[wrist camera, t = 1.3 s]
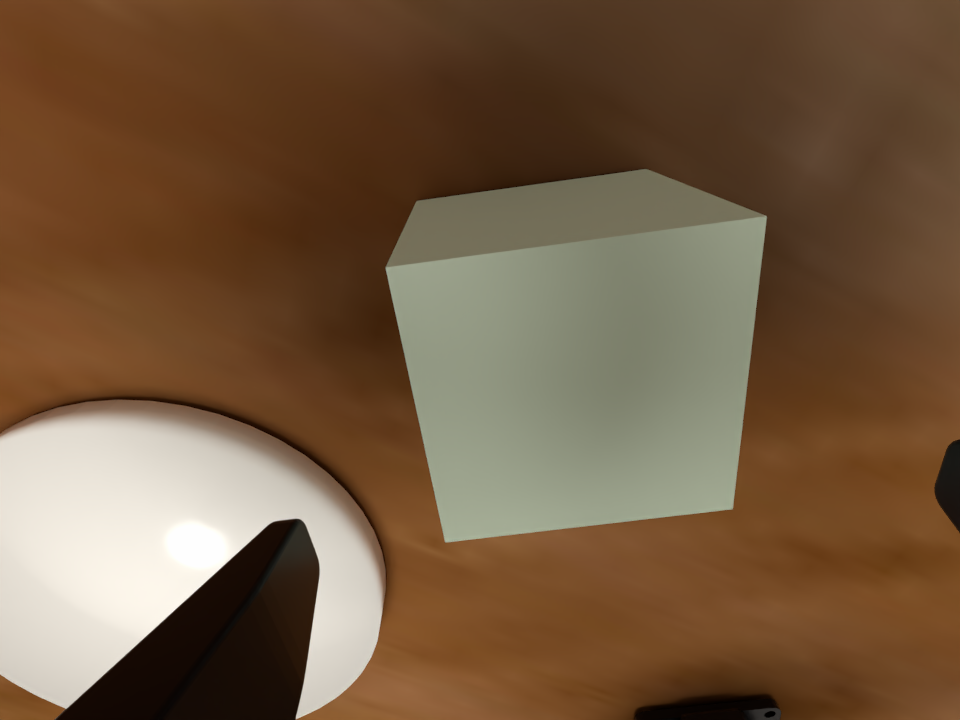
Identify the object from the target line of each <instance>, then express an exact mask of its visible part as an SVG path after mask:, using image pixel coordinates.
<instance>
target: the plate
mask: <svg viewBox="0 0 960 720" xmlns="http://www.w3.org/2000/svg"><path fill="white" fill-rule="evenodd" d="M288 519H301V520H302V521H303V522H304V523H305V525H306V527H307V530H308V532H309V535H310V538H311V540H312V543H313V546H314V548H315V551H316V554H317V556H318V560H319V566H320V576H319V583H318V590H317V597H316V604H315V611H314V618H313V625H312V632H311V639H310V646H309V653H308V660H307V667H306V673H305V679H304V685H303V689H302V694H301V698H300V703H299V707H298V711H297V715H296V719H297V718H300V717H302V716H304V715H306V714H308V713H311V712H313V711H315V710H317V709H319V708H321V707H322V706H324V705H325V704H327V703H329V702H330V701H332V700H334V699H335V698H336V697H338V696H339V695H340V694H341V693H342V692H344V691H345V690H346V689H347V688H348V687H350V685H351V684H352V683H353V682H354V681H355V680H356V679H357V678H358V677H359V675H360V674H361V673H362V672H363V670H364V668H365V667H366V665H367V664H368V662H369V660H370V659H371V657H372V654H373V651H374V649H375V646H376V644H377V640H378V634H379V629H380V623H381V617H382V610H383V604H384V598H385V592H386V569H385V564H384V559H383V554H382V550H381V548H380V545H379V542H378V540H377V537H376V535H375V532H374V530H373V528H372V527H371V525H370V523H369V522H368V520H367V518H366V516H365V515H364V513H363V511H362V510H361V509H360V507H359V506H358V505H357V504H356V502H355V501H354V500H353V499H352V497H351V496H350V495H349V494H348V492H347V491H346V490H345V489H344V488H343V487H342V486H341V485H340V484H339V483H338V482H337V481H336V480H335V479H334V478H333V477H332V476H330V475H329V474H328V473H327V472H326V471H325V470H323V469H322V468H321V467H320V466H318V465H317V464H316V463H314V462H313V461H312V460H310V459H309V458H308V457H307V456H305V455H304V454H302V453H300V452H299V451H297V450H296V449H294V448H292V447H291V446H289V445H287V444H286V443H284V442H282V441H281V440H279V439H277V438H275V437H273V436H271V435H269V434H267V433H265V432H263V431H260V430H258V429H256V428H254V427H252V426H250V425H247V424H244V423H242V422H239V421H236V420H233V419H231V418H228V417H225V416H222V415H220V414H216V413H212V412H208V411H204V410H200V409H196V408H192V407H188V406H183V405H176V404H170V403H163V402H156V401H142V400H105V401H91V402H83V403H78V404H73V405H68V406H63V407H57V408H54V409H52V410H49V411H46V412H43V413H40V414H37V415H34V416H31V417H29V418H27V419H25V420H23V421H21V422H19V423H17V424H15V425H13V426H11V427H9V428H7V429H6V430H5V431H3V432H2V433H0V674H1V675H2V676H4V677H5V678H7V679H8V680H10V681H11V682H13V683H15V684H16V685H18V686H20V687H22V688H24V689H25V690H27V691H29V692H31V693H33V694H34V695H37V696H39V697H41V698H43V699H45V700H48V701H50V702H52V703H54V704H56V705H58V706H61V707H64V708H66V709H67V708H68V707H69V706H70V705H71V704H72V703H73V702H74V701H75V700H77V699H78V698H79V697H80V696H81V695H82V694H83V693H84V692H85V691H86V690H88V689H89V688H90V687H91V686H92V685H93V684H94V683H95V682H96V681H97V680H99V679H100V678H101V677H102V676H103V675H104V674H105V673H106V672H107V671H108V670H109V669H111V668H112V667H113V666H114V665H115V664H116V663H117V662H118V661H119V660H120V659H122V658H123V657H124V656H125V655H126V654H127V653H128V652H129V651H130V650H131V649H133V648H134V647H135V646H136V645H137V644H138V643H139V642H140V641H141V640H142V639H143V638H145V637H146V636H147V635H148V634H149V633H150V632H151V631H152V630H153V629H154V628H156V627H157V626H158V625H159V624H160V623H161V622H162V621H163V620H164V619H165V618H167V617H168V616H169V615H170V614H171V613H172V612H173V611H174V610H175V609H176V608H178V607H179V606H180V605H181V604H182V603H183V602H184V601H185V600H186V599H187V598H188V597H190V596H191V595H192V594H193V593H194V592H195V591H196V590H197V589H198V588H199V587H201V586H202V585H203V584H204V583H205V582H206V581H207V580H208V579H209V578H210V577H212V576H213V575H214V574H215V573H216V572H217V571H218V570H219V569H220V568H221V567H223V566H224V565H225V564H226V563H227V562H228V561H229V560H230V559H231V558H232V557H233V556H235V555H236V554H237V553H238V552H239V551H240V550H241V549H242V548H243V547H244V546H246V545H247V544H248V543H249V542H250V541H251V540H252V539H253V538H254V537H255V536H257V535H258V534H259V533H260V532H261V531H262V530H263V529H264V528H265V527H266V526H268V525H269V524H270V523H272V522H274V521H279V520H288Z"/></svg>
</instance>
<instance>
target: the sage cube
mask: <svg viewBox="0 0 960 720" xmlns="http://www.w3.org/2000/svg"><path fill="white" fill-rule="evenodd" d="M766 219H767V216H765V215H763V214H760V213H758V212H755V211H752V210H750V209H747V208H745V207H742V206H740V205H737V204H735V203H732V202H729V201H727V200H724V199H722V198H719V197H717V196H714V195H712V194H709V193H707V192H704V191H701V190H699V189H696V188H694V187H691V186H689V185H686V184H684V183H681V182H679V181H676V180H673V179H671V178H668V177H666V176H663V175H661V174H658V173H656V172H653V171H650V170H648V169H643V170H635V171H628V172H621V173H614V174H607V175H599V176H592V177H585V178H578V179H571V180H563V181H556V182H549V183H542V184H535V185H527V186H520V187H513V188H506V189H499V190H491V191H484V192H477V193H470V194H463V195H455V196H448V197H441V198H434V199H427V200H419V201H416V203H415V205H414V207H413V210H412V212H411V214H410V216H409V218H408V220H407V222H406V225H405V227H404V229H403V231H402V233H401V235H400V237H399V240H398V242H397V244H396V246H395V248H394V250H393V252H392V255H391V257H390V259H389V261H388V263H387V265H386V267H385V268H386V273H387V277H388V282H389V286H390V291H391V296H392V300H393V305H394V309H395V314H396V318H397V323H398V328H399V332H400V337H401V341H402V346H403V351H404V355H405V360H406V364H407V369H408V374H409V378H410V383H411V387H412V392H413V397H414V401H415V406H416V410H417V415H418V420H419V424H420V429H421V433H422V438H423V443H424V447H425V452H426V456H427V461H428V466H429V470H430V475H431V479H432V484H433V489H434V493H435V498H436V502H437V507H438V512H439V516H440V521H441V525H442V530H443V534H444V539H445V542H453V541H462V540H471V539H479V538H488V537H497V536H505V535H514V534H523V533H531V532H540V531H549V530H557V529H566V528H574V527H583V526H592V525H600V524H609V523H618V522H626V521H635V520H644V519H652V518H661V517H670V516H678V515H687V514H696V513H704V512H713V511H721V510H730V509H733V502H734V494H735V485H736V477H737V468H738V460H739V451H740V442H741V434H742V425H743V417H744V408H745V400H746V391H747V382H748V374H749V365H750V357H751V348H752V340H753V331H754V322H755V314H756V305H757V297H758V288H759V280H760V271H761V262H762V254H763V245H764V237H765V228H766Z"/></svg>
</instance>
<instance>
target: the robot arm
mask: <svg viewBox="0 0 960 720" xmlns="http://www.w3.org/2000/svg"><path fill="white" fill-rule="evenodd" d="M934 488H935V496H936V499H937V501H938V503H939V505H940V507H941V508H942V509H943V511H944V512H945V513H946V515H947V516H948V518H949V519H950V520H951V522H952V523H953V524H954V526H955V527H956V528H957V530H958V531H959V532H960V439H959V440H956V441H953V442H952V443H951V444H950V445H949V446H948V448H947V450H946V453H945V456H944V459H943V462H942V465H941V468H940V471H939V474H938V477H937V480H936V483H935V487H934ZM319 576H320V566H319V560H318V556H317V554H316V551H315V548H314V546H313V543H312V540H311V538H310V535H309V532H308V530H307V527H306V525H305V523H304V522H303V521H302V520H301V519H288V520H279V521H274V522H272V523H270V524H269V525H268V526H266V527H265V528H264V529H263V530H262V531H261V532H260V533H259V534H258V535H257V536H255V537H254V538H253V539H252V540H251V541H250V542H249V543H248V544H247V545H246V546H244V547H243V548H242V549H241V550H240V551H239V552H238V553H237V554H236V555H235V556H233V557H232V558H231V559H230V560H229V561H228V562H227V563H226V564H225V565H224V566H223V567H221V568H220V569H219V570H218V571H217V572H216V573H215V574H214V575H213V576H212V577H210V578H209V579H208V580H207V581H206V582H205V583H204V584H203V585H202V586H201V587H199V588H198V589H197V590H196V591H195V592H194V593H193V594H192V595H191V596H190V597H188V598H187V599H186V600H185V601H184V602H183V603H182V604H181V605H180V606H179V607H178V608H176V609H175V610H174V611H173V612H172V613H171V614H170V615H169V616H168V617H167V618H165V619H164V620H163V621H162V622H161V623H160V624H159V625H158V626H157V627H156V628H154V629H153V630H152V631H151V632H150V633H149V634H148V635H147V636H146V637H145V638H143V639H142V640H141V641H140V642H139V643H138V644H137V645H136V646H135V647H134V648H133V649H131V650H130V651H129V652H128V653H127V654H126V655H125V656H124V657H123V658H122V659H120V660H119V661H118V662H117V663H116V664H115V665H114V666H113V667H112V668H111V669H109V670H108V671H107V672H106V673H105V674H104V675H103V676H102V677H101V678H100V679H99V680H97V681H96V682H95V683H94V684H93V685H92V686H91V687H90V688H89V689H88V690H86V691H85V692H84V693H83V694H82V695H81V696H80V697H79V698H78V699H77V700H75V701H74V702H73V703H72V704H71V705H70V706H69V707H68V708H67V709H66V710H64V711H63V712H62V713H61V714H60V715H59V716H58V717H57V718H56V719H55V720H295V719H296V715H297V711H298V707H299V703H300V698H301V694H302V689H303V685H304V679H305V673H306V667H307V660H308V653H309V646H310V639H311V632H312V625H313V618H314V611H315V604H316V597H317V590H318V583H319ZM780 716H781V710H780V708H779V706H778V704H777V703H776V701H775V700H773V699H760V700H750V701H740V702H731V703H721V704H711V705H702V706H692V707H682V708H673V709H663V710H653V711H645V712H641V713H639V714H637V715H636V716H635V720H780Z"/></svg>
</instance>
